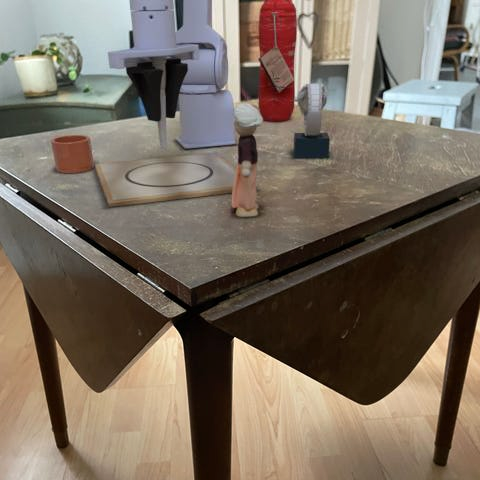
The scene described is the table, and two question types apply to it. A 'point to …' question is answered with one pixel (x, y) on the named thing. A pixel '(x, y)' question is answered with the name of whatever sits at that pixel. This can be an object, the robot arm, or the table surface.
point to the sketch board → (165, 178)
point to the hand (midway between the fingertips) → (161, 119)
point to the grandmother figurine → (246, 161)
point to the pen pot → (72, 153)
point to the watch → (311, 123)
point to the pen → (162, 101)
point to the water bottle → (277, 59)
